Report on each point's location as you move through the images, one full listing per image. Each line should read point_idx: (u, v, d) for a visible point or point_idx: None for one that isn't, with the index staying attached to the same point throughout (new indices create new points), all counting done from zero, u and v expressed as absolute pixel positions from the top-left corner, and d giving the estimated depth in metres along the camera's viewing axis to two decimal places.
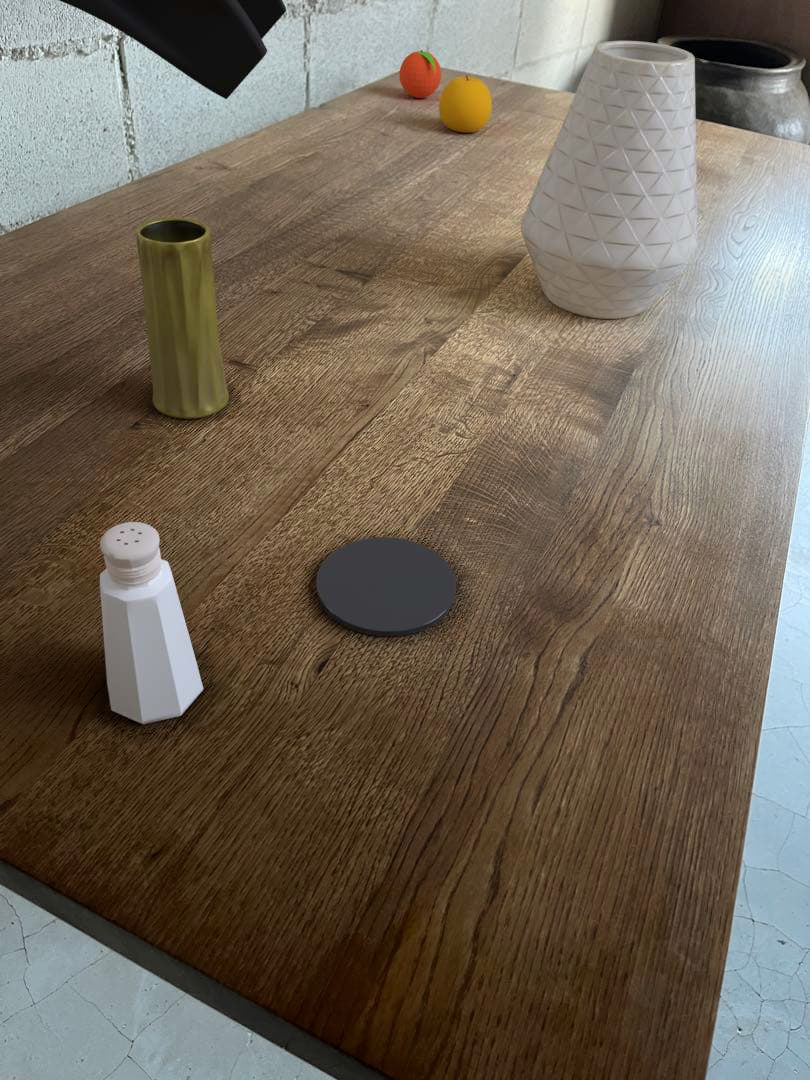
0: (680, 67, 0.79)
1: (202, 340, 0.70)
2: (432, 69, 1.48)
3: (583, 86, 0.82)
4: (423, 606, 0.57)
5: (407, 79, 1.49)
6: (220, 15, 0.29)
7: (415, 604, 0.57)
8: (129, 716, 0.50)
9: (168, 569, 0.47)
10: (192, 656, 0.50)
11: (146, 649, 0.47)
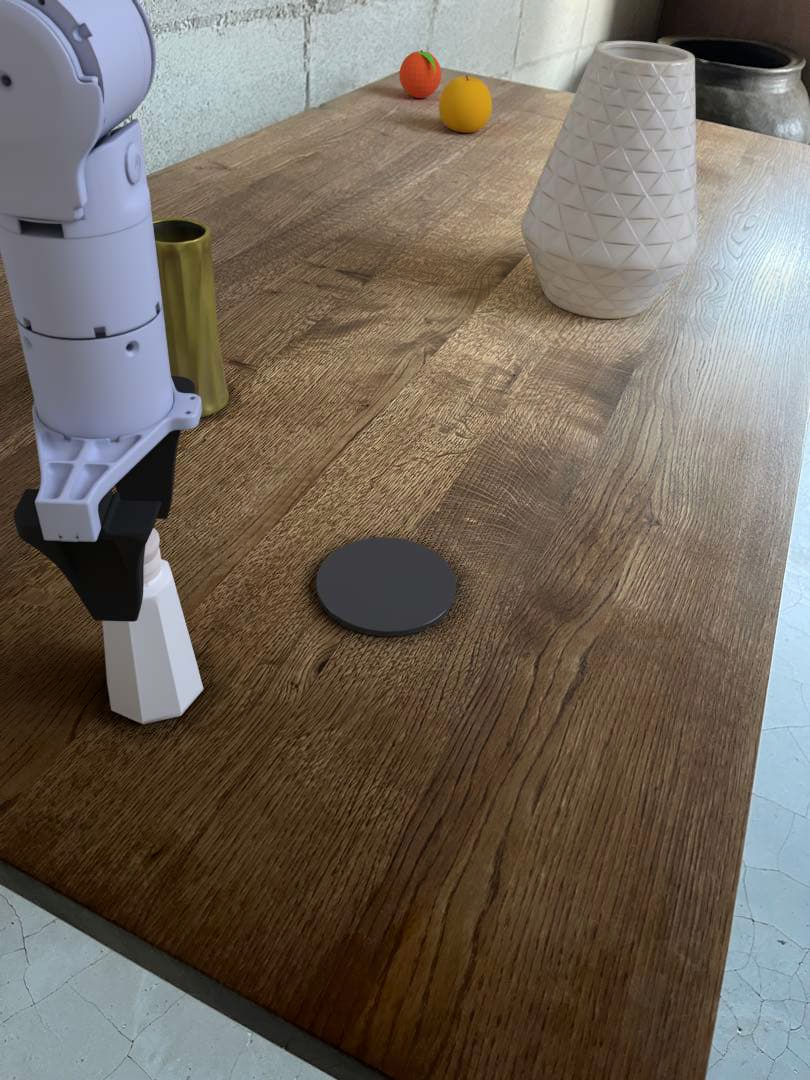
0: (680, 67, 0.79)
1: (202, 340, 0.70)
2: (432, 69, 1.48)
3: (583, 86, 0.82)
4: (423, 606, 0.57)
5: (407, 79, 1.49)
6: (127, 596, 0.41)
7: (415, 604, 0.57)
8: (129, 716, 0.50)
9: (168, 569, 0.47)
10: (192, 656, 0.50)
11: (146, 650, 0.47)
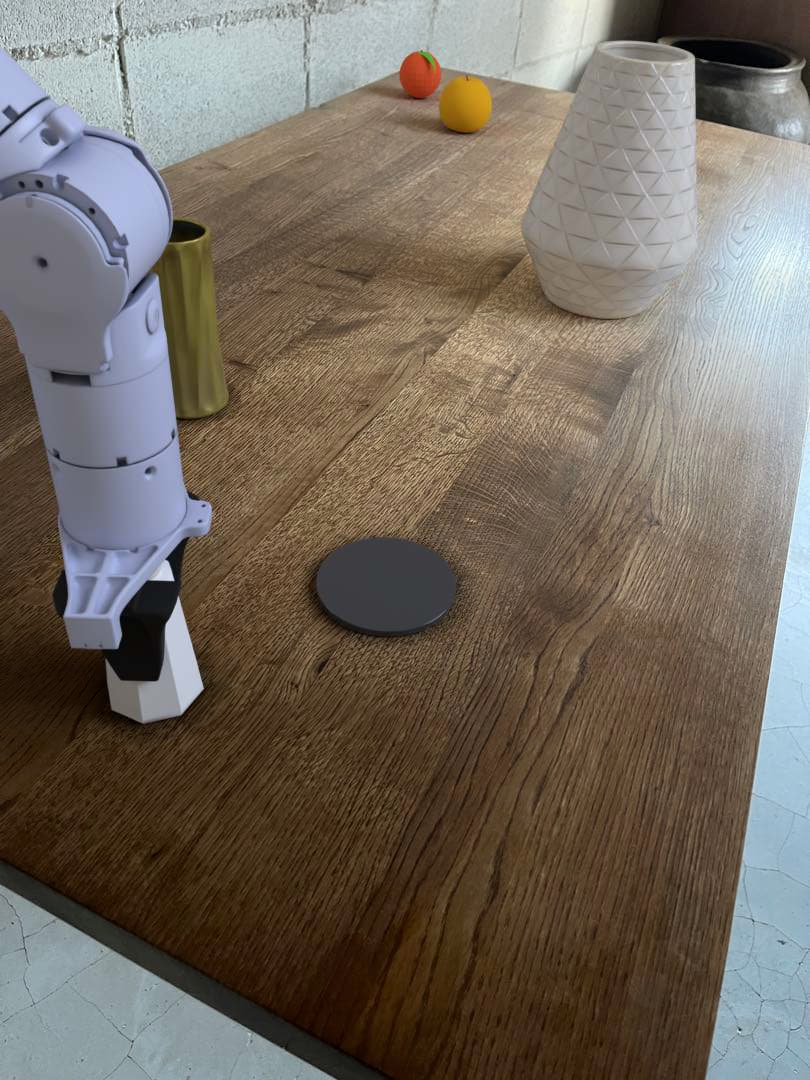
0: (680, 67, 0.79)
1: (202, 340, 0.70)
2: (432, 69, 1.48)
3: (583, 86, 0.82)
4: (423, 606, 0.57)
5: (407, 79, 1.49)
6: (150, 660, 0.46)
7: (415, 604, 0.57)
8: (129, 715, 0.50)
9: (168, 568, 0.47)
10: (192, 655, 0.50)
11: None
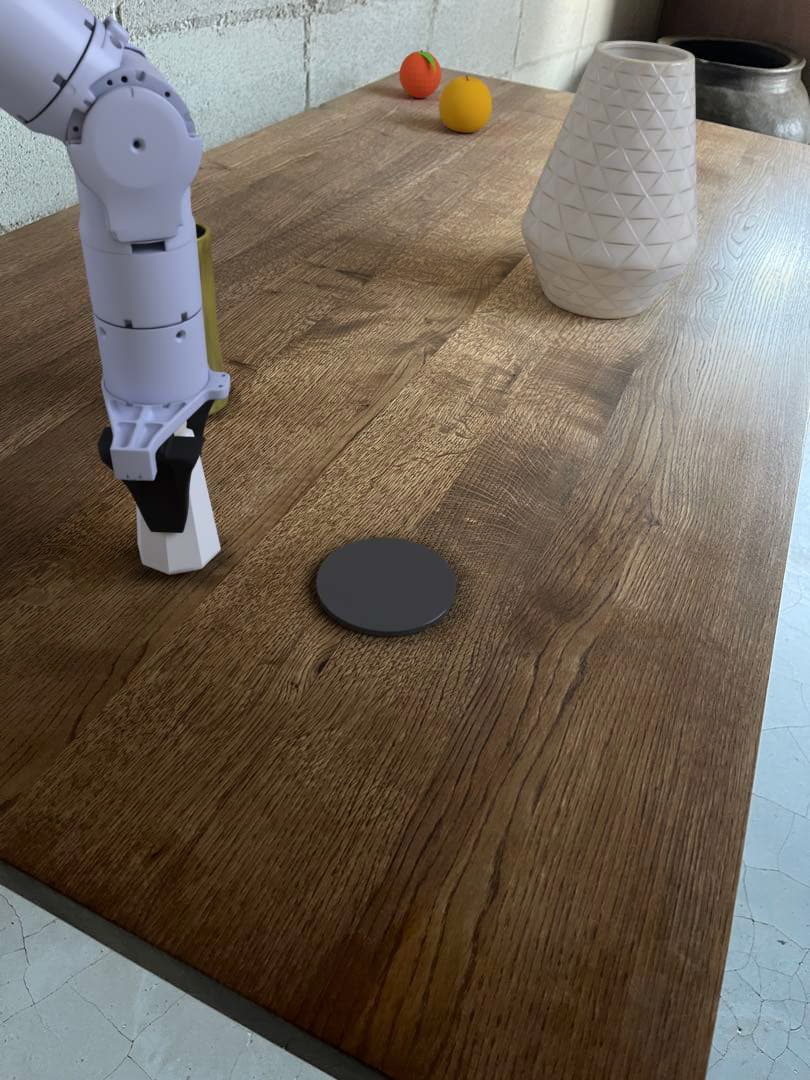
0: (680, 67, 0.79)
1: None
2: (432, 69, 1.48)
3: (583, 86, 0.82)
4: (423, 606, 0.57)
5: (407, 79, 1.49)
6: (177, 511, 0.55)
7: (415, 604, 0.57)
8: (157, 567, 0.58)
9: (192, 435, 0.55)
10: (212, 516, 0.58)
11: None
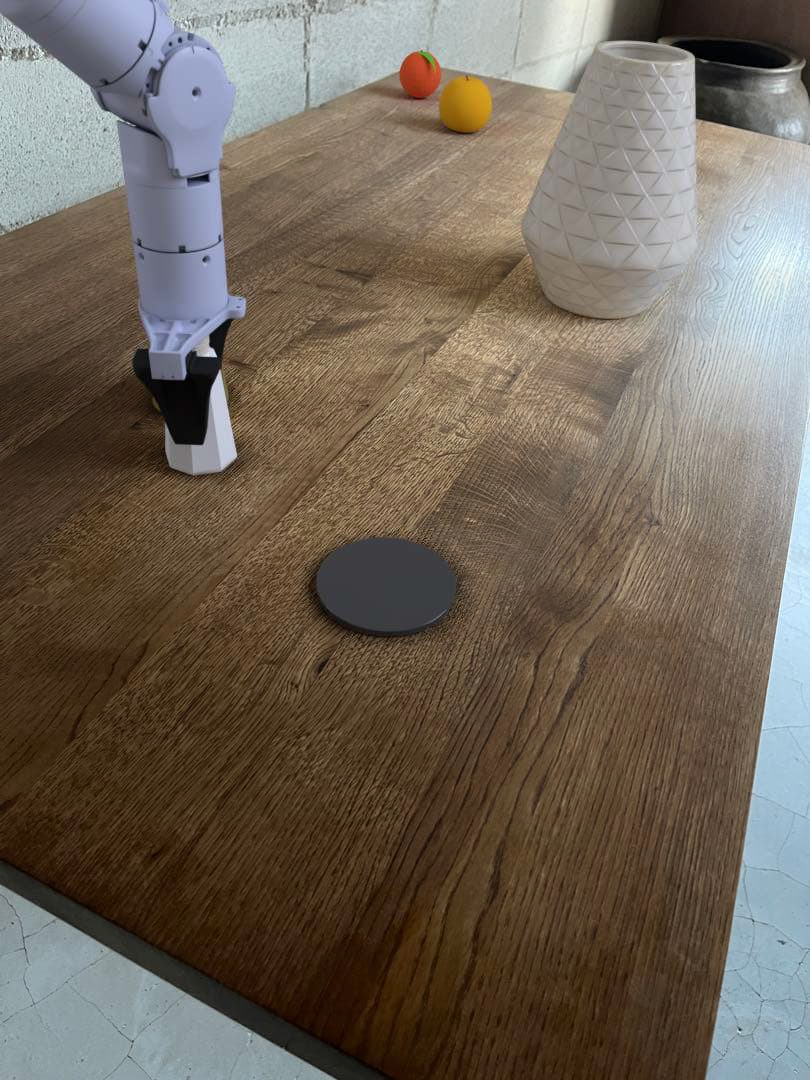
0: (680, 67, 0.79)
1: None
2: (432, 69, 1.48)
3: (583, 86, 0.82)
4: (423, 606, 0.57)
5: (407, 79, 1.49)
6: (198, 425, 0.63)
7: (415, 604, 0.57)
8: (183, 469, 0.67)
9: (214, 352, 0.65)
10: (230, 426, 0.67)
11: None
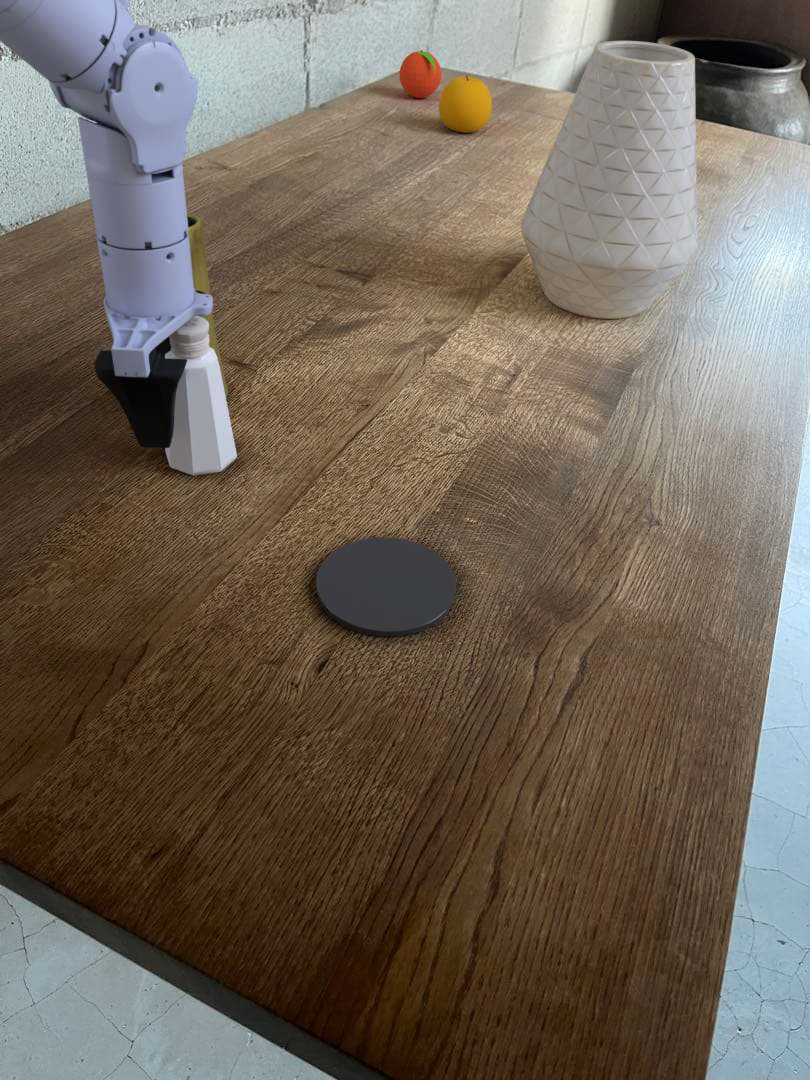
0: (680, 67, 0.79)
1: None
2: (432, 69, 1.48)
3: (583, 86, 0.82)
4: (423, 606, 0.57)
5: (407, 79, 1.49)
6: (164, 428, 0.63)
7: (415, 604, 0.57)
8: (183, 469, 0.67)
9: (214, 352, 0.65)
10: (230, 426, 0.67)
11: (198, 411, 0.65)
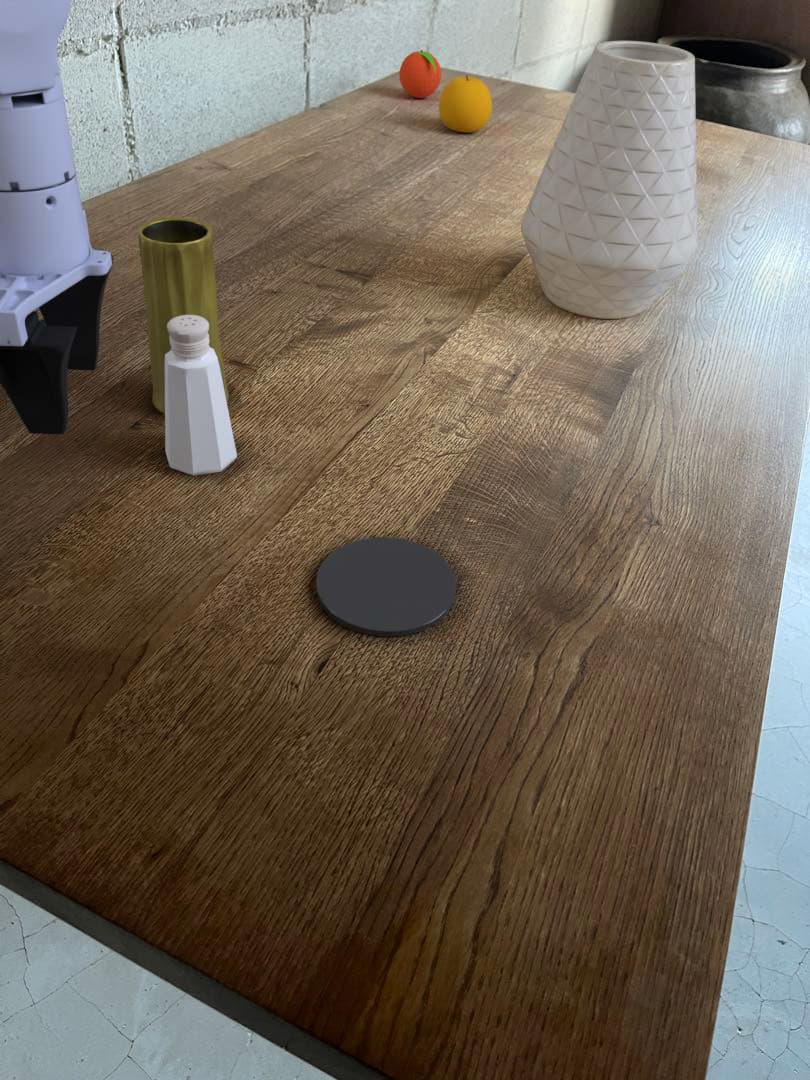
0: (680, 67, 0.79)
1: None
2: (432, 69, 1.48)
3: (583, 86, 0.82)
4: (423, 606, 0.57)
5: (407, 79, 1.49)
6: (54, 410, 0.53)
7: (415, 604, 0.57)
8: (183, 469, 0.67)
9: (214, 352, 0.65)
10: (230, 426, 0.67)
11: (198, 411, 0.65)
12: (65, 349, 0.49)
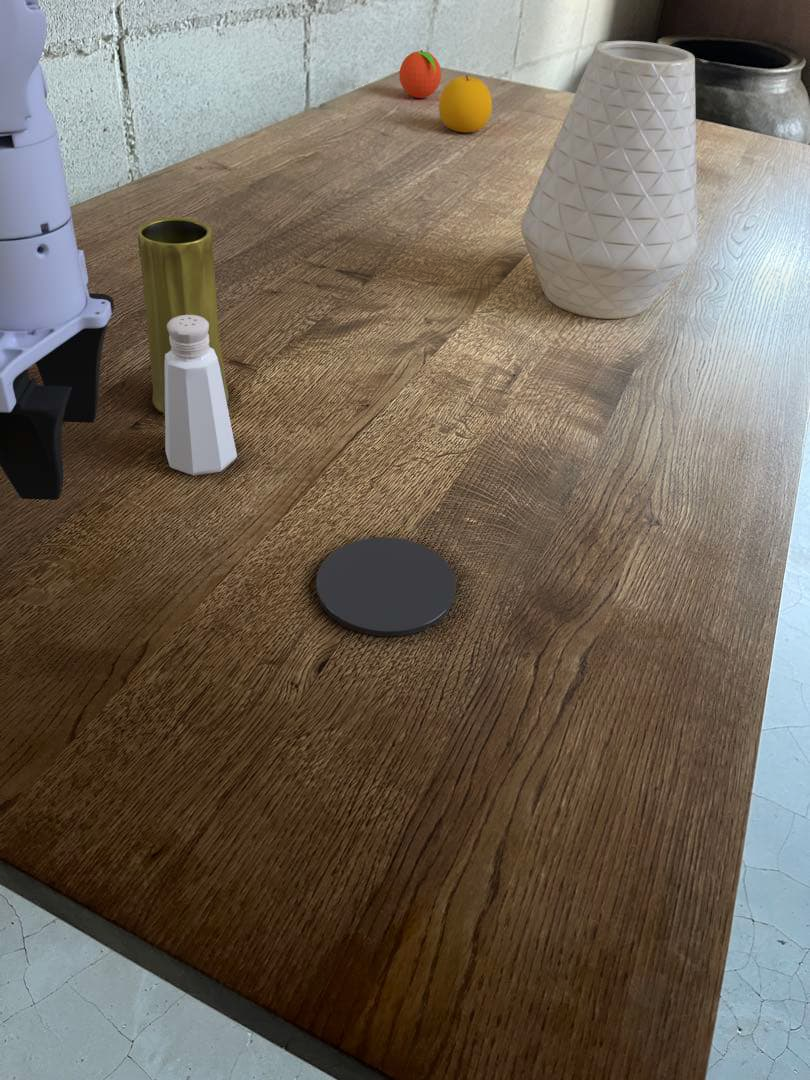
0: (680, 67, 0.79)
1: None
2: (432, 69, 1.48)
3: (583, 86, 0.82)
4: (423, 606, 0.57)
5: (407, 79, 1.49)
6: (48, 474, 0.48)
7: (415, 604, 0.57)
8: (183, 469, 0.67)
9: (214, 352, 0.65)
10: (229, 426, 0.67)
11: (198, 411, 0.65)
12: (58, 413, 0.44)
